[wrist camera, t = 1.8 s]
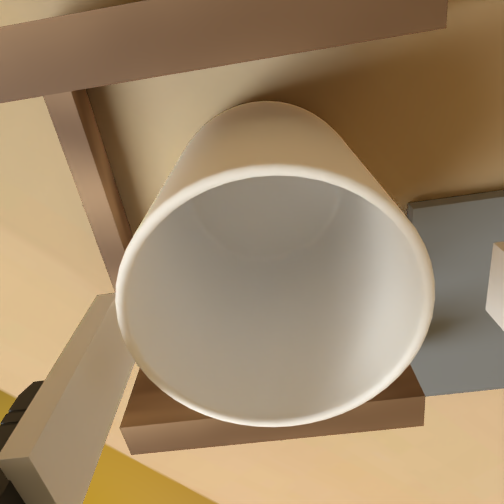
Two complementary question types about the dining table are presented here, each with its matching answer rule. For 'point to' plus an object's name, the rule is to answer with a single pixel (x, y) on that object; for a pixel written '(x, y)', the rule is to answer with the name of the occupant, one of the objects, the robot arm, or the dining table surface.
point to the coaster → (460, 294)
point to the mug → (273, 274)
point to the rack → (171, 62)
